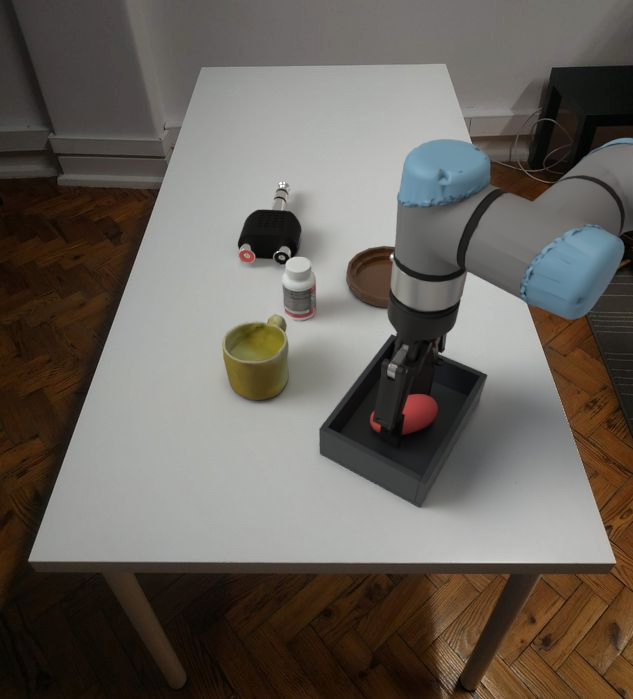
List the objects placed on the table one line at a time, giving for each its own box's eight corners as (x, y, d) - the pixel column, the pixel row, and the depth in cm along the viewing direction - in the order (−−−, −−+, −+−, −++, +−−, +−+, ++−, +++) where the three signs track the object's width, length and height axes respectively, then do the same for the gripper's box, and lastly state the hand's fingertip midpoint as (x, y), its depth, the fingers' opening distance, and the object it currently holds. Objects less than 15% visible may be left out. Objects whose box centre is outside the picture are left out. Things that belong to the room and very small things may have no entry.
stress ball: (435, 450, 74) (452, 410, 72) (375, 443, 71) (391, 401, 69) (420, 428, 79) (435, 390, 77) (362, 421, 76) (377, 381, 74)
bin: (479, 400, 79) (487, 374, 75) (419, 508, 68) (425, 484, 64) (388, 360, 85) (391, 333, 81) (319, 454, 74) (319, 428, 70)
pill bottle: (319, 318, 91) (319, 272, 84) (287, 324, 91) (284, 277, 83) (312, 297, 95) (310, 251, 88) (281, 302, 94) (277, 256, 87)
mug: (266, 417, 76) (252, 352, 71) (216, 399, 82) (200, 339, 77) (321, 375, 84) (311, 315, 79) (272, 362, 90) (260, 305, 85)
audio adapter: (232, 243, 97) (257, 170, 114) (236, 267, 101) (260, 193, 118) (294, 246, 96) (310, 172, 113) (295, 270, 100) (311, 195, 117)
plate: (441, 273, 99) (443, 262, 97) (405, 321, 91) (407, 310, 89) (371, 248, 104) (372, 237, 102) (331, 291, 96) (331, 280, 94)
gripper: (434, 230, 66) (414, 358, 82) (343, 338, 54) (341, 463, 71) (495, 250, 63) (461, 378, 80) (413, 369, 51) (393, 491, 68)
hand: (404, 418), depth 75 cm, fingers closed on stress ball, 8 cm apart
